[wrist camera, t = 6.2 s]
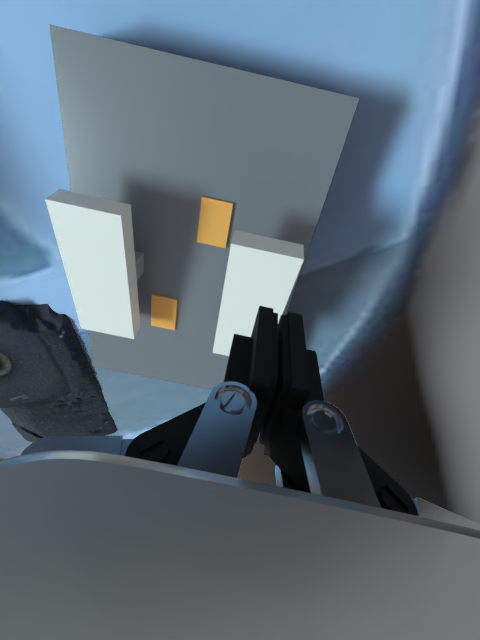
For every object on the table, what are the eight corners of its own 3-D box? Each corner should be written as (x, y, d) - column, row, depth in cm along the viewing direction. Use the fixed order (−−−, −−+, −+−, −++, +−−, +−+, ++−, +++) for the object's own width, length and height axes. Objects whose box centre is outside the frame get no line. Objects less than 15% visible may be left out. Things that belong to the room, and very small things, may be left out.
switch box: (89, 38, 18) (28, 16, 14) (344, 99, 19) (367, 97, 15) (111, 340, 32) (84, 378, 28) (258, 369, 33) (256, 412, 28)
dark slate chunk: (24, 428, 44) (0, 458, 40) (-74, 296, 32) (-122, 323, 28) (125, 432, 43) (110, 464, 39) (64, 295, 30) (33, 323, 26)
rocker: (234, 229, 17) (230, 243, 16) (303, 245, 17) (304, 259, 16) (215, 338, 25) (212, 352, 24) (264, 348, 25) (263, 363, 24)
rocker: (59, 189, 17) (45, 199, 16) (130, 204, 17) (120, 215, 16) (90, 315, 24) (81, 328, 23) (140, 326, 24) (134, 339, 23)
